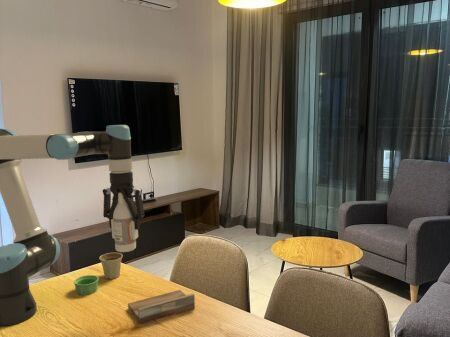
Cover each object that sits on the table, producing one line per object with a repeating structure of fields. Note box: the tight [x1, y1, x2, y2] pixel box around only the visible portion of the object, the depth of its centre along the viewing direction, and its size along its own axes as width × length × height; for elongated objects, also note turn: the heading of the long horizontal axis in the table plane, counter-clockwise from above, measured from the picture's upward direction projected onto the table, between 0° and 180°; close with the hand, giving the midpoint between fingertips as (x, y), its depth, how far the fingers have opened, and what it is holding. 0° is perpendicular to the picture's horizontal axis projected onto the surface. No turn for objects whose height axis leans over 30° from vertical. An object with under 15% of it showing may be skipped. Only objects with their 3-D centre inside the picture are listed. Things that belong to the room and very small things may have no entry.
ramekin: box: [73, 274, 100, 296], centre depth 153 cm, size 9×9×4 cm
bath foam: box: [113, 193, 137, 253], centre depth 134 cm, size 7×7×20 cm
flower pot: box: [98, 252, 123, 280], centre depth 166 cm, size 9×9×9 cm
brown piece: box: [127, 289, 196, 325], centre depth 138 cm, size 12×20×5 cm, turn 121°
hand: (125, 237), depth 135 cm, fingers closed on bath foam, 7 cm apart
